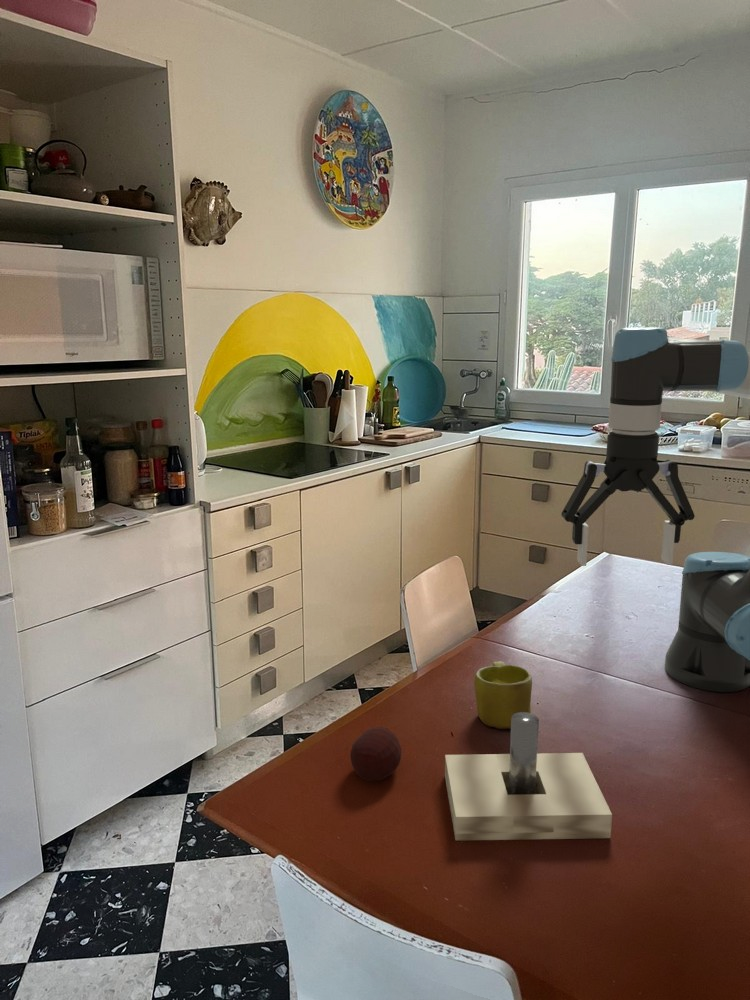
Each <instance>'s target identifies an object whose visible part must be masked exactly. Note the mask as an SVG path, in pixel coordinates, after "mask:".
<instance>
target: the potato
mask: <svg viewBox="0 0 750 1000" xmlns="http://www.w3.org/2000/svg"><path fill="white" fill-rule="evenodd" d="M401 759H402V747H401V743H400V741H399V739H398V736H397V735H396V734H395V733H394V732H393V731H391V730H390V729H389V728H386V727H383V726H374V727H371V728H369V729H367V730H365V731H364V732H363V733H361V734H360V735H359V737H357V738H355V740H354V741H353V743H352V746H351V749H350V762H351V765H352V768H353V770H354V772H355V773H356V775H357V776H358V777H360V778H361V779H363V780H364V781H367V782H374V781H375V782H376V781H381V780H384V779H386V778H388V777H390V776H391V775H392V774H394V772H395V771H396V769H397V768H398V767H399V765H400V763H401Z"/></svg>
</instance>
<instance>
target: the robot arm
mask: <svg viewBox="0 0 750 1000" xmlns="http://www.w3.org/2000/svg"><path fill="white" fill-rule="evenodd" d="M611 354H612V355H611V359H610V360H611V361H610V362H611V375H610V376H611V377H610V399H609V411H608V425H607V427H608V428H609V429H610V431H609V432H608V433H607V439H606V440H607V441H606V454H605V455H606V456H605V457H606V458H605V461H604V463H598V462H597V463H596V462H593V461H591V460H587V461H586V462H584V466H583V468H584V469H583V473H582V476H581V478H580V479H579V481H578V483H577V485H576V487H575V488H574V490H573V492H572V494H571V496H570V497H569V499H568V501H567V502H566V504H565V506H564V508H563V510H562V511H561V517H562V518H563V520H565V521H566V523H567V522H569V523H572V531H571V532H572V535H571V536H572V537H571V540H572V543H574V545H577V549H576V550H577V552H576V553H577V556H576V557H577V558H576V561H577V562H578V563H579V565H580V566H581V567H586V566H587V559H588V543H589V542H588V539H589V525H588V524H587V523H586V522H587V521H588V520H589V519H590V517H591V516H592V515H593V514H594V513H595V512H596V511H597V510H598V508H600V507H601V505H602V504H604V502H605V501H606V500H607V499H608V498H609V497H610V496H611V495H613V494H614V493H615V492H616V491H617V490H618V491H620V492H629V491H634V492H642V490H644V489H645V490H646V491H647V492H648V493H649V494H650V496H651V497H652V498H653V500H654V501H655V502H656V504H657V505H658V506H659V507H660V508H661V510H662V511H663V512H664V513H665V515H666V516H667V517H668V519H669V520H664V521H663V530H662V532H663V533H662V543H661V544H662V545H661V555H660V560H661V561H662V562H663V563H665V564H666V565H668V566H669V565H671V566H672V565H673V561H674V560H673V558H674V557H673V556H674V546H675V544H679V542H680V540H681V531H682V526H683V525H685V524H686V523H685V521H693V520H695V517H696V516H695V512H694V511H693V509H692V506H691V504H690V503H691V502H690V501H689V498H688V497H687V494H686V491H685V489H684V487H683V485H682V484H683V483H682V482H681V480H680V478H679V465H678V464H677V463H676V462H675V461H673V460H671V459H666V460H665V461H663V462H658V454H659V453H658V452H659V443H660V435H659V433H658V432H656V431H659V430H660V428H661V415H662V403H663V393H664V392H712V393H716V394H722V395H727V396H733V397H737V398H741V399H742V398H743V399H748V400H750V351H748V350H747V347H746V346H745V345H744V343H743V342H741V341H739V340H734V339H733V340H729V339H728V340H727V339H723V338H722V339H710V340H709V339H694V338H681V337H672V336H668V331H667V329H665V328H663V327H622V328H619V329H618V330H617V331H616V333H615V335H614V340H613V348H612V353H611ZM659 471H660V474H662V475H663V476H664V477H665V480H666V482H667V485H668V486H669V489H670V491H671V494H672V497H673V498H674V501H675V503H676V506H677V508H678V510H679V511H677V510H676V509H675V507H674V506H673V505H672V504H671V502H670V501H669V500H668V499H667V497H666V496H665V495H664V494H663V492H662V491H661V489H660V487H658V484H656V483H655V481H654V480H653V479H654V478H655V477H656V475H657V474H658V473H659ZM602 472H603V473H604V475H605V476H606V478H605V479H604V480H602V482H601V483H600V485H599V487H598V488H597V489H596V490H595V491H594V492H593V494H592V495H590V497H589V498H588V499H587V500H586V501H585V502H584V500H585V498H586V496H587V495H588V493H589V491H590V490H591V488H592V486H593V484H594V482H595V479H596V478H597V477H599V476H600V474H601V473H602ZM583 502H584V504H582V503H583ZM581 505H582V506H581ZM683 563H684V564H683V569H682V572H681V574H682V576H681V577H682V581H681V591H680V604H679V616H678V626H677V627H678V628H677V631H676V633H675V634H674V637H673V639H672V640H671V643H670V645H669V647H668V649H667V651H666V654H665V659H664V669H665V671H666V673H667V674H668V675H669V676H670V677H671V678H673V679H674V680H675V681H678V682H680V683H682V684H684V685H686V686H690V687H692V688H694V689H697V690H699V689H700V690H702V691H703V690H704V691H708V692H709V691H710V692H716V693H717V692H718V693H731V692H738V691H739V692H740V691H743V690H745V689H747V688H749V687H750V556H748V555H745V554H742V553H734V552H728V551H727V552H724V551H699V552H694V553H691V554H689V555H688V556H686V558H685V560H684V562H683Z"/></svg>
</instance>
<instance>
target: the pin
mask: <svg viewBox="0 0 750 1000" xmlns="http://www.w3.org/2000/svg"><path fill="white" fill-rule="evenodd" d="M539 721H540V719H539V718H538V716H537V715H535V714H534V713H532V712H531V713H526V712H519V713H515V714H513V715H512V717H511V729H510V746H509V754H510V765H509V791H508V795H527V794H535V787H536V767H537V754H538V743H539V742H538V741H539V724H540V723H539Z"/></svg>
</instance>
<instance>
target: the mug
mask: <svg viewBox="0 0 750 1000" xmlns="http://www.w3.org/2000/svg"><path fill="white" fill-rule="evenodd" d="M474 675H475V676H474V692H475V700H476V702H475V703H476V710H477V715H478V717H479V719H480V721H481V722H482V723H483V725H485V726H488V727H489V728H494V729H499V730H511V717H512V715H513V714H515V713H519V712H526V713H531V714H532V711H531V701H532V692H533V691H532V689H533V676H532V674H531V673H530V671H528V670H527V669H526V668H525V667H522V666H519V665H512V664H505V662H504V661H502V660H501V661H500V660H499V661H493V663H492V665H490V666H485V667H481V668H479V669H478V670H477V671H476V673H475V674H474Z"/></svg>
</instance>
